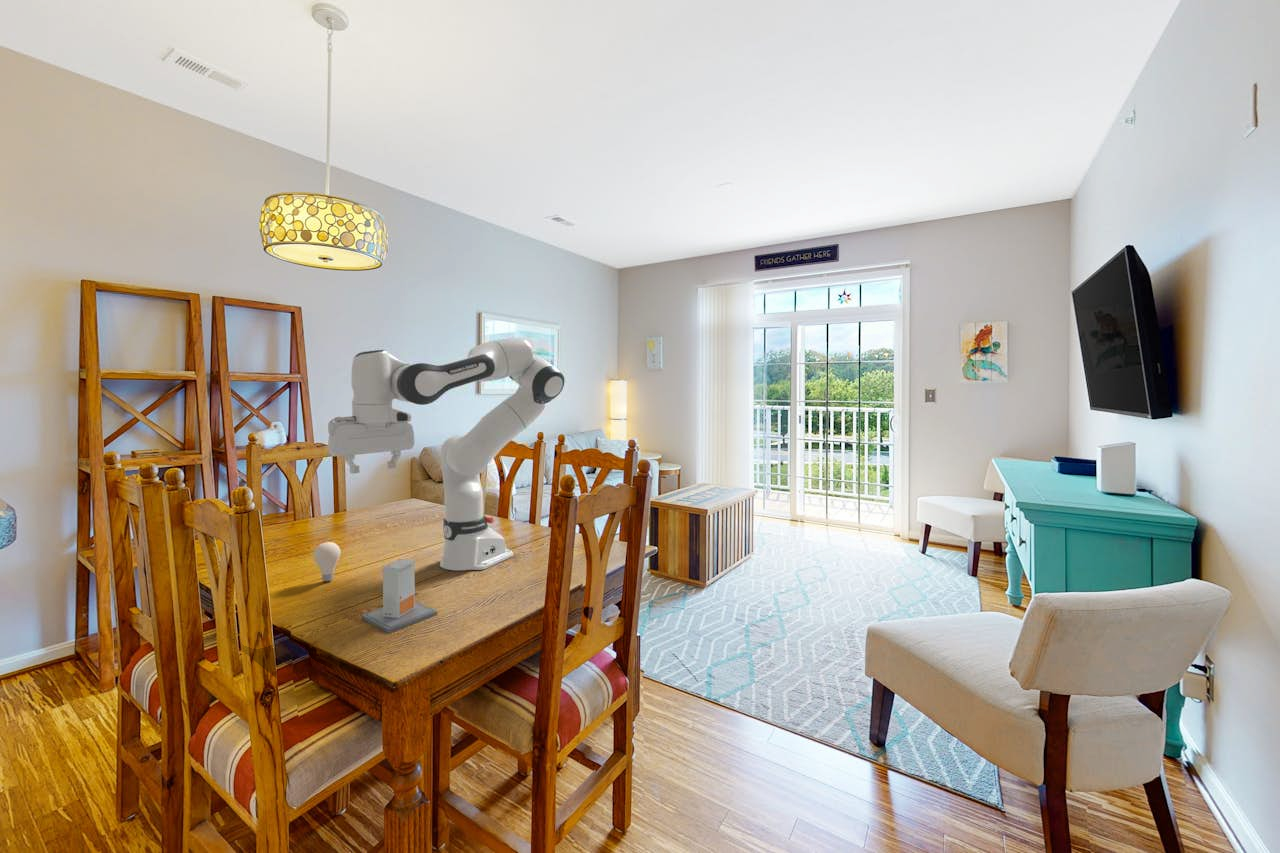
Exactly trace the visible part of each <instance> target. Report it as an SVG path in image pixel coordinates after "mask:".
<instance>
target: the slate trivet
mask: <svg viewBox="0 0 1280 853" xmlns="http://www.w3.org/2000/svg"><path fill="white" fill-rule="evenodd" d="M436 615H438V610H436V609H434V608H432V607H430V606H427V605H424V604H422V603H420V602H418V601H416V600H415V609H413V610H411V611H410V612H408V613H406V614H404V615H403V616H401V617H399V618H398V619H397V618H391V617H385V616H383V607H381V608H378V609H375V610H372V611H369V612H366V613H363V614H361V617H360V618H361V619H362V620H363V621H365V622H368V623H369V624H371V625H373V626H375V627H377V628H378V629H380V630H382V631H384V632H385V633H388V634H391V633H393V632H396V631H398V630H400V629H403V628H406V627H408V626H410V625H413V624H417V623H419V622H421V621H423V620H425V619H429V618H431V617H435V616H436Z"/></svg>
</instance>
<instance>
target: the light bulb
mask: <svg viewBox="0 0 1280 853" xmlns="http://www.w3.org/2000/svg"><path fill="white" fill-rule="evenodd" d="M341 554H342V552H341V548H340V546H339V545H338V544H337V543H335V542H331V541H327V542H323V543H320V544H318V545H317V547H316V548H315V549H314V551H313V555H312V557H313V560H314V562H315V564H316V565H317V566H318V568H319V570H320V574H321V580H322V581H323V582H331V581H332V580H334V573H335V570H336V565H337V563H338V562H339V560H340V557H341Z"/></svg>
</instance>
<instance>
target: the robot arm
mask: <svg viewBox="0 0 1280 853" xmlns="http://www.w3.org/2000/svg"><path fill="white" fill-rule="evenodd" d="M351 364H352V365H351V378H350V379H351V382H350V383H351V388H352V391H353V397H352V399H351V400H352V401H351V406H352V407H351V411H352V412H351V415H352V416H350V415H349V416H336V417H334V418H332V419H331V420H330V421H329V422H328V424H327V428H328V442H327V452H328V453H329V455H330V456H332V457H344V458H343V459H344V461H345V463H346V464H347V465H348V466H349V473H350V474H353V475H354V474H359V473H360V472H361V471H360V465H357V464H355V462H354V460H355V458H356V456H358V455H367V454H376V453H387V452H390V453H391V455H392V456H391V459H390V461H389V460H388V461H387V463H386V464H387V468H388V469H390V470H391V469H397V466H398V465H397V464H398V463H397V462H398V460H399V459H400V457H401V453H402V452H401V451H406V450H412V449H413V447H414V446H415V432H414V426H413V425H412V423H411V421H412V414H411V413H409V412H406V411H402V410H400V409H396V408H395V409H394V408H393V400H398V401H401V402H405V403H412V404H415V405H421V406H423V405H429V404H432V403H434V402H436V401H438V399H439V398H440V397H442V396H443V395H444V394H446V392H448V391H450V390H453V389H455V388H457V387H462V386H464V385H467V384H470V383H473V382H493V381H496V380H501V379H504V378H508V377H509V378H510V379H511V380H512V381H514V382H515V383H516V384H518V385H519V386H518V388H517V390H516V391H515V392H514V393H513V394H512V395H510V396H509V397H507V398H506V399H504V400H503V401H502V402H501V403H499V404H497V406H495V407H494V408H492V409H491V410H490V411H489V412H487V413H486V414H485V415H484V416H482V417H481V419H480V420H479V421H478V422H477V423H476V424H475V426H473V427H472V428H471V429H470V431H469V432H467V433H466V434H465V435H464V434H463V435H460V434H457V435H453V436H451V437H449V438H447V439H446V440H445V441H444V442H443V443H442V445H441V448H440V463H441V472H442V473H441V474H442V484H443V492H444V518H443V529H442V530H443V537H444V540H443V541H444V542H443V550H442V555H441V559H440V563H439V567H440V568H442V569H444V570H449V571H470V570H471V571H472V570H475V571H481V570H482V571H483V570H486V569H489V568H490V567H493V566H495V565H497V564H500V563H501V562H503V561H505V560H507V559H510V558H512V557H514V552H513V551H512V550H511V549H509V548H507V546H506V542H505V541H506V540H505V538H504V537H503V535H502V534H499V533H498V532H497V531H495V530H493V529H492V528H491V527H489V525H488V524H494V522H495V518H494V517H493V516H489V515H488V516H485V515H484V492H483V488H482V484H481V482H482V481H481V475H480V474H482V473H483V472H484V471H485V469H486V468H487V467H488V464H490V462H492V460H494V459H495V457H497V455H498V454H499V453H500V451H502V449H504V447H506V445H508V444H509V442H512V440H514V439H515V438H516V437H517V436H518V435H519V434H521V433H522V432H523V431H524V430H526V429H527V428H528V427H529V426H531V424H533V423H534V422H535V420H537V418H539V416H541V414H542V413H543V411H544V410H545V407H546V404H548V403H550V402H551V401H553V400H555V399H556V398H557V397H558V396H559V395H560V394H561V392H562V391H563V389H564V386H565V382H566V381H565V376H564V374H563V373H562V372H561V371H560V369H559V368H557V367H556V366H555V365H553V364H551V363H550V362H549V361H548V360H546V359H545V358H543V357H540V356H538V355H537V354H534V350H533V347H532V345H531V343H529V341H527V339H525V338H521V337H511V338H510V337H507V338H500V339H494V340H490V341H487V342H484V343H481V344H479V345H476V346H474V347H472V348H471V349H470V350H469V351H468V354H467V357H466V358H464V359H459V360H457V361H452V362H449V363H446V364H441V365H434V364H430V363H424V362H421V363H419V362H418V363H414V364H410V363H408V362H407V361H403V360H401V359H399V358H397V357H395V356H394V355H392V354H391V353H390V352H388V351H387V350H384V349H377V350H368V351H361V352H358V353H357V354H356V355H355V356H354V357H353V359H352V363H351Z"/></svg>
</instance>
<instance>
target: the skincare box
mask: <svg viewBox="0 0 1280 853" xmlns="http://www.w3.org/2000/svg"><path fill="white" fill-rule="evenodd" d="M415 562H416V561H415V560H412V559H404V558H400V559H398V560H396V561H392V562H391V563H390V562H389V563H388V564H386V565H384V566H383V567H382V608H383V616H385V617H391V618H397V619H398V618H399V617H401V616H403V615H404V614H406V613H408V612H410V611H411V610H413V609H415V601H416V595H415V592H416V591H415V590H416V589H415V588H416V587H415V585H416V584H415V583H416V582H415V581H416V580H415V570H416V569H415V567H416V566H415V565H416V563H415Z"/></svg>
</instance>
